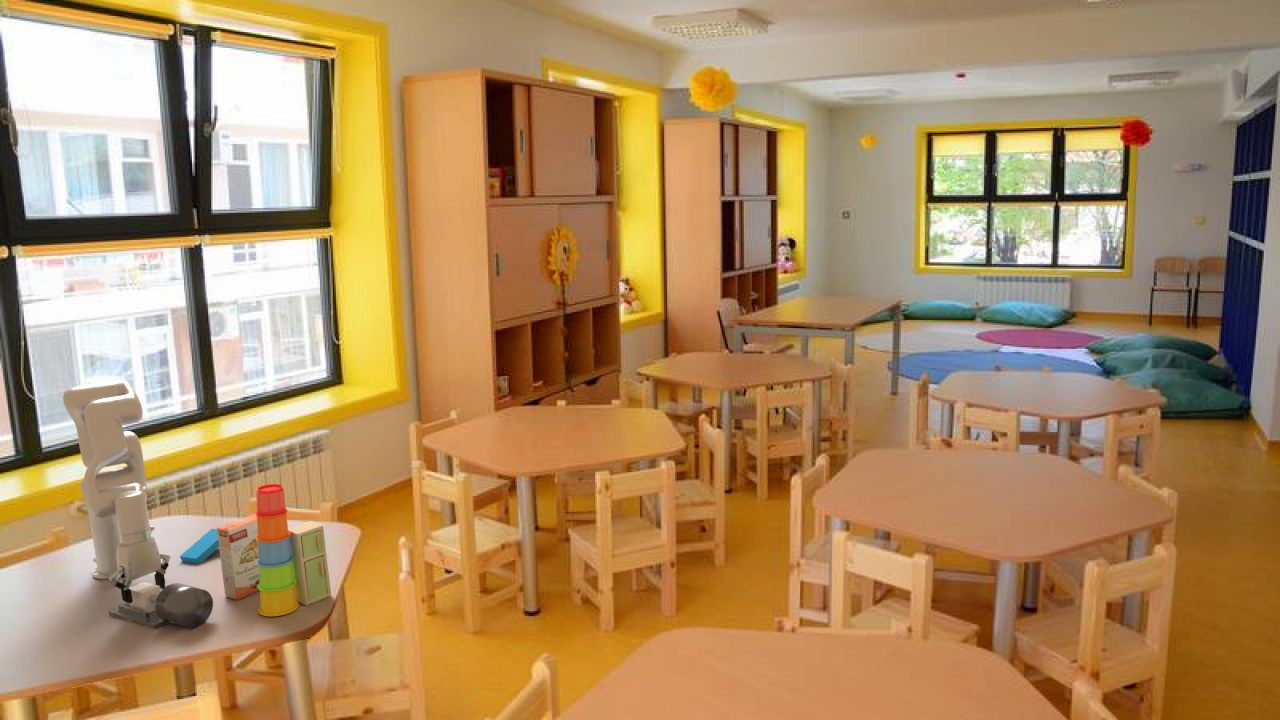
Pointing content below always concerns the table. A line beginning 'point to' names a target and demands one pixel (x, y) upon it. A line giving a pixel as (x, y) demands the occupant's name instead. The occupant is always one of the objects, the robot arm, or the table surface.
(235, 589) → the cracker box
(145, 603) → the block
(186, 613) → the electric bell
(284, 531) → the stacking cups
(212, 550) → the blue ramp
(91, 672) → the table surface
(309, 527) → the toy refrigerator
